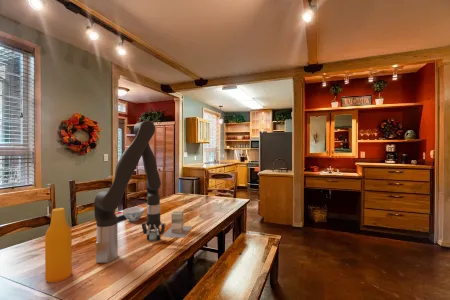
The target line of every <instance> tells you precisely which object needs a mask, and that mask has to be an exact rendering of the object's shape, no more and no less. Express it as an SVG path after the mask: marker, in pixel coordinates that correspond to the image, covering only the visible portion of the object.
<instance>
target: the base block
mask: <svg viewBox="0 0 450 300" xmlns="http://www.w3.org/2000/svg"><path fill="white" fill-rule="evenodd" d="M184 221H185V220H184ZM184 221H183V222H182V223H181V224H178V223H172V222H171V226H172V233H181V232H182V231H183V230H184V226H185V225H184V224H185V223H184Z"/></svg>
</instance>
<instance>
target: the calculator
mask: <svg viewBox="0 0 450 300" xmlns="http://www.w3.org/2000/svg"><path fill="white" fill-rule="evenodd" d="M114 213H115V215H116V216H117V219H118V222H120V221H123V220H126V219H127V218H126V217H125V216H124V214H123V211H117V212H114Z"/></svg>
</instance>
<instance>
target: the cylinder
mask: <svg viewBox="0 0 450 300" xmlns="http://www.w3.org/2000/svg"><path fill="white" fill-rule="evenodd" d="M148 241H149V242H156V241H157V232H156V231H155V230H151V231H150V232H149V240H148Z"/></svg>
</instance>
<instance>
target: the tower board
mask: <svg viewBox="0 0 450 300" xmlns="http://www.w3.org/2000/svg"><path fill="white" fill-rule="evenodd" d="M192 227H193V226H189V225H187V226H186V225H184V230H183V231H182V232H181V233H172V225H171V226H170V227H169V228H168V229H167V230H166V231H164V233H163V234H162V236H161V238H162V237H163V238H183V239H184V238H186V236H187V234H188V233H189V232H190V230H191V229H192Z"/></svg>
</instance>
